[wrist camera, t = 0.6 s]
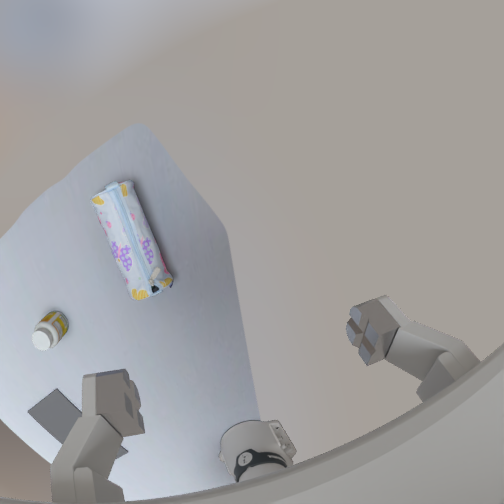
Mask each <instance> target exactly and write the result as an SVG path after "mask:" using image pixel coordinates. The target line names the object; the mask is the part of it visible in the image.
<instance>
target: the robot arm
mask: <svg viewBox="0 0 504 504" xmlns="http://www.w3.org/2000/svg"><path fill="white" fill-rule="evenodd" d="M350 316H351V318H350V320H349V321H348V322H347V326H346V330H347V336H348V338H349V340H350V342H351V343H352V345H354V346H356V347H358V348H359V355H360V356H361V358H362V359H363V361H364V362H365V364H366V365H367V366H369V365H371V364H373V363H376V362H378V361H380V360H383V359H385V358H386V359H385V360H387V361H388V362H390V363H392V364H394V365H395V366H397V367H399V368H401V369H402V370H404V371H406V372H408V373H409V374H411V375H413V376H415V377H416V378H418V379H420V380H422V381H423V382H422V383H421V384H420V386H419V387H418V389H417V394H418V396H419V397H420V399H421V400H422V402H423V403H421V404H420V405H418V406H416V407H415V408H413V409H411V410H410V411H408V412H406V413H405V414H403V415H401V416H399V417H398V418H396V419H394V420H392V421H390V422H389V423H387V424H385V425H383V426H381V427H379V428H377V429H375V430H373V431H372V432H369V433H367V434H365V435H363V436H362V437H359V438H357V439H355V440H353V441H351V442H349V443H347V444H344V445H342V446H340V447H338V448H335V449H333V450H331V451H328V452H326V453H323V454H321V455H319V456H316V457H314V458H311V459H308V460H306V461H303V462H301V463H298V464H295V465H293V461H292V459H291V458H292V457H293V456H294V455H295V454H296V449H295V447H294V445H293V444H292V442H291V440H290V439H289V437H288V436H287V434H286V432H285V430H284V429H283V427H282V425H281V424H280V422H279V421H277V420H272V421H268V422H262V421H247V422H243V423H240V424H237V425H235V426H233V427H232V428H230V429H229V430H228V431H227V432H226V433H225V434H224V435H223V437H222V439H221V452H220V454H219V459H220V460H221V461H223V462H225V464H226V466H227V469H228V471H229V474H230V475H232V476H234V477H235V481H236V483H234V484H230V485H226V486H221V487H217V488H213V489H208V490H203V491H199V492H193V493H188V494H182V495H176V496H170V497H163V498H156V499H147V500H138V501H126V502H125V500H124V495H123V490H122V488H121V487H120V486H118V485H116V484H115V483H113V482H111V481H109V480H108V477H109V474H110V471H111V469H112V466H113V464H114V461H115V458H116V456H117V453H118V451H119V448H120V446H121V443H122V441H123V437H126V436H132V435H138V434H143V433H145V429H144V423H143V417H142V415H141V414H140V412H139V411H138V410H139V409H140V407H141V402H140V397H139V393H138V390H137V387H136V385H135V383H134V382H133V381H132V380H129V374H128V372H127V371H126V369H120V370H114V371H107V372H100V373H94V374H87V375H84V376H83V379H82V417H78V419H77V421H76V423H75V424H74V426H73V428H72V429H71V431H70V433H69V435H68V436H67V438H66V440H65V442H64V443H63V445H62V447H61V449H60V450H59V452H58V454H57V456H56V457H55V459H54V461H53V463H52V465H51V467H50V475H51V491H52V501H53V502H40V501H29V500H19V499H13V498H6V497H0V504H504V343H503V344H502V345H501V346H500V347H499V348H497V349H496V350H495V351H494V352H493V353H491V354H490V355H489V356H488V357H486V358H485V359H484V360H483V361H481V362H480V361H479V359H478V358H477V357H476V356H475V355H474V354H473V352H472V351H471V350H470V349H469V348H468V346H467V345H466V344H465V343H464V342H463V341H462V340H460V339H458V338H455V337H453V336H450V335H448V334H445V333H443V332H440V331H438V330H435V329H433V328H431V327H428V326H426V325H423V324H421V323H418V322H416V321H413V322H411V321H410V320H409V319H408V317H406V315H405V314H404V313H403V312H402V311H401V310H400V309H399V307H398V306H397V305H396V304H395V303H394V302H393V301H392V300H391V299H390V298H389V296H387V295H384V296H381V297H378V298H376V299H372V300H369V301H367V302H364V303H361V304H359V305H356V306H353V307H352V308H351V309H350ZM276 427H277V428H276Z"/></svg>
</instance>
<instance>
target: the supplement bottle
mask: <svg viewBox="0 0 504 504" xmlns="http://www.w3.org/2000/svg"><path fill="white" fill-rule="evenodd" d="M67 330H68V322H67V319H66V318H65V316H64V315H63V314H62V313H60V312H57V311H53V312H50V313H49V314H48V315H47V316H45V317H44V318H43V319H42V320H41V321H40V322H39V323H38V324H37V325H36V326H35V329H34V333H33V335H32V342H33V344H34V346H35V347H36V348H37V349H39V350H41V351H46V350H48V349H49V348H53V347H55V346H56V345H57V344H58V342H59V341H60V340H61V338H62V337H63V336H64V334H65V333H66V332H67Z"/></svg>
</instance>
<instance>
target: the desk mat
mask: <svg viewBox="0 0 504 504" xmlns="http://www.w3.org/2000/svg"><path fill="white" fill-rule="evenodd" d="M28 413H29V414H30V415H31V416H32V417H33V418H34V419H35V420H36V421H37V422H38V423H39V424H40V425H41V426H42V427H43V428H45V429H46V430H47V431H48V432H49V433H50V434H51V435H52V436H53V437H55V438H56V439H57V440H58V441H59V442H60V443H62V444H63V443H64V442H65V440H66V438H67V436H68V435H69V433H70V431H71V429H72V428H73V426H74V424H75V423H76V421H77V419H78V417H82V412H81V411H80V410H78V409H77V408H76V407H75V406H74V405H73V404H72V403H71V402H70V401H69V400H68V399H67V398H66V397H65V396H64V395H63V394H62V393H61V392H60V391H59V390H58V389H56V390H54V391H53V392H52V393H50V394H49V395H48V396H47V397H45V398H44V399H43V400H42V401H40V402H39V403H38V404H36V405H35V406H34V407H33V408H31V409H30V410H29V411H28ZM126 453H128V451H127V450H126V449H125V448H123V447H122V446H120V448H119V451H118V453H117V456H116V458H115V459H117V458H119V457H121V456H122V455H124V454H126Z"/></svg>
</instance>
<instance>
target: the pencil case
mask: <svg viewBox="0 0 504 504" xmlns="http://www.w3.org/2000/svg"><path fill="white" fill-rule="evenodd" d="M105 188H106V189H104V190H103V191H101V192H100V193H98V194H96V195H94V196H93V197H91V199H90V202H91V204H92V205H93V207H94V209H95V211H96V213H97V215H98V218H99V221H100V223H101V225H102V227H103V228H104V230H105V233H106V236H107V238H108V242H109V245H110V247H111V250H112V253H113V256H114V258H115V260H116V262H117V264H118V267H119V269H120V271H121V273H122V275H123V278H124V280H125V282H126V286H127V289H128V292H129V295H130V297H131V298H132V299H133V300H143V299H146V298H148V297H150V296H151V297H153V296H155V295H157V294H159V293H162V292H163V289H165V288H166V287H167V286H170V288H171V287H172V284H173V277H172V276H171V274H170V273H169V272H168V271H167V269H166V266H165V263H164V261H163V259H162V256H161V253H160V250H159V247H158V245H157V243H156V241H155V239H154V236H153V234H152V232H151V229H150V226H149V224H148V222H147V220H146V217H145V215H144V212H143V210H142V207H141V205H140V202H139V200H138V197H137V195H136V193H135V190H134V182H133V181H132V180H128V181H125V182H120V183H117V182H116V181H114V182H112V183H110V184H108V185H106V186H105Z"/></svg>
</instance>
